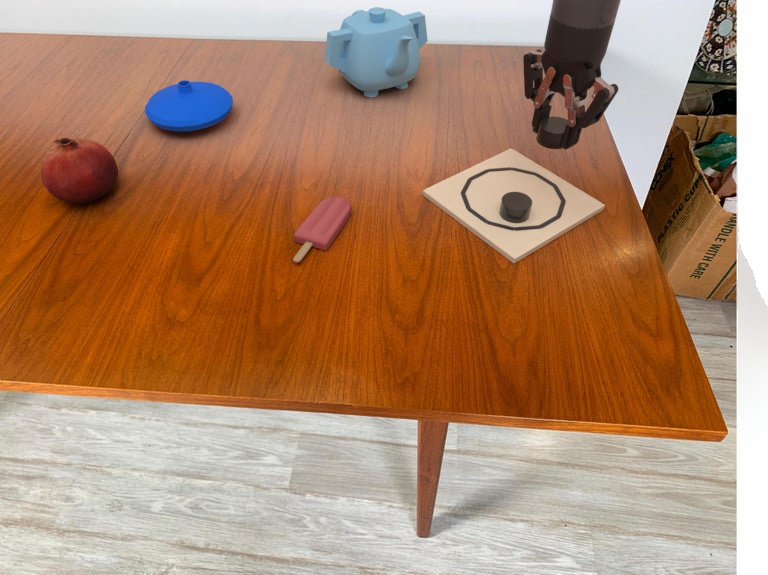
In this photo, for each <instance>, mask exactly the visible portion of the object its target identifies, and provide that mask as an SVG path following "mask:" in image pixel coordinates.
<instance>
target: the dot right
mask: <svg viewBox="0 0 768 575" xmlns="http://www.w3.org/2000/svg"><path fill="white" fill-rule="evenodd" d="M566 124H568V118H564V117H562V116H561V117H560V116H549V117H545V118H543V119H542V120H541V121H540V123H539V128H538V132H537V134H536V137H535V140H536V142H537V144H539V145H540V146H541V147H543V148H546V149H549V150H561V149H562V150H563V148H561V142H562V138H563V135H564V131H565V127H566Z"/></svg>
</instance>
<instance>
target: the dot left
mask: <svg viewBox="0 0 768 575" xmlns="http://www.w3.org/2000/svg"><path fill="white" fill-rule="evenodd" d="M531 207H532V200H531V198H530V197H529V196H528V195H526V194H524V193H521V192H509V193H506V194H505V195H503V197H502V200H501V205H500V211H499V214H500V216H501V217H502V218H503V219H504V220H505V221H508V222H511V223H522V222H525V221H526V220H528V218H529V216H530V211H531Z"/></svg>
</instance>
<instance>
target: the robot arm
mask: <svg viewBox="0 0 768 575" xmlns="http://www.w3.org/2000/svg"><path fill="white" fill-rule="evenodd" d="M621 2H622V0H552V5H551V9H550V14H549V19H548V24H547V28H546V34H545V39H544V42H543V43H544V44H543V47H544V51H542V50H541V49H540V48H539V49H535V50H532V51H529V52H528V53H525V54H523V58H522V60H523V83H524V84H523V86H524V87H523V88H524V98H525V99H527V100H531V101H532V103H533V107H534V109H533V110H534V111H533V115H532V119H531V127H532V132H533V133H535V134H536V135H537V132H538V128H539V123H540V121H541V120H542V119H543V118H545V117H551V116H550V115H551V111H552V105H551V103H552V102H553V100H554V98H555V97H556V95H557V94H560V95H561V96H562V97H563V98H564V108H565V109H566V110H567V120H568V124H566V127H565V131H564V135H563V138H562V142H561V148H562V150H568V149H570V148H572V147H574V146H575V145H577V144H578V143H579V141H580V137H581V134H582V130H583V129H586V128H588V127H590V126H592V125H595V124H596V123H598V122H599V121H600V120H601V118H602V117H603V116H604V113H605V112H606V111H607V109H608V107H609V106H610V105H611V103H612V102H613V100H614V98H615V97H616V96H617V94H618V92H619V86H618V84H616V83H612V84H609V83H608V82H606V81H605V80H604V79H603V78H602V68H601V67H602V63H603V60H604V58H605V56H606V54H607V50H608V47H609V43H610V40H611V37H612V33H613V30H614V25H615V22H616V19H617V15H618V11H619V9H620V5H621ZM592 87H593V93H592V95H590V94H591V93H590V89H591V88H592ZM591 99H592V101H591V102H590V100H591ZM589 103H590V104H589ZM588 104H589V106H588Z"/></svg>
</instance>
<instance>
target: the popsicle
mask: <svg viewBox="0 0 768 575" xmlns="http://www.w3.org/2000/svg"><path fill="white" fill-rule="evenodd" d="M351 214H352V205H351V203H350V202H349V200H348V199H347V198H345V197H342V196H330V197H326V198H324V199H323V200H321V201H320V202H319V203H318V204H317V206H316V207H315V208H314V209H313V210H312V211H311V213H310V214H309V215H308V216H307V217H306V218H305V220H304V221H303V222H302V223H301V225H299V227H298V228H297V229H296V230H295V232H294V233H293V240H294V242H295V243H298V244H301V245H302V246H301V247H300V249H299V250H298V251H297V252H296V254H295V255H294V257H293V258H292V261H293V262H294V263H297V264H298V263H301V261H302V260H303V259H304V258H305V256H307V254H308V252H309V251H310V250H311V249H312V248H314V249H318V250H321V251H328V249H329V248H330V247H331V245H332V244H333V243H334V241H335V239H336V238H337V237H338V235H340V234H339V233H340V232H341V230H342V229H343V227H344V226H345V224H346V223H347V221H348V220H349V218H350V217H351Z"/></svg>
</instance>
